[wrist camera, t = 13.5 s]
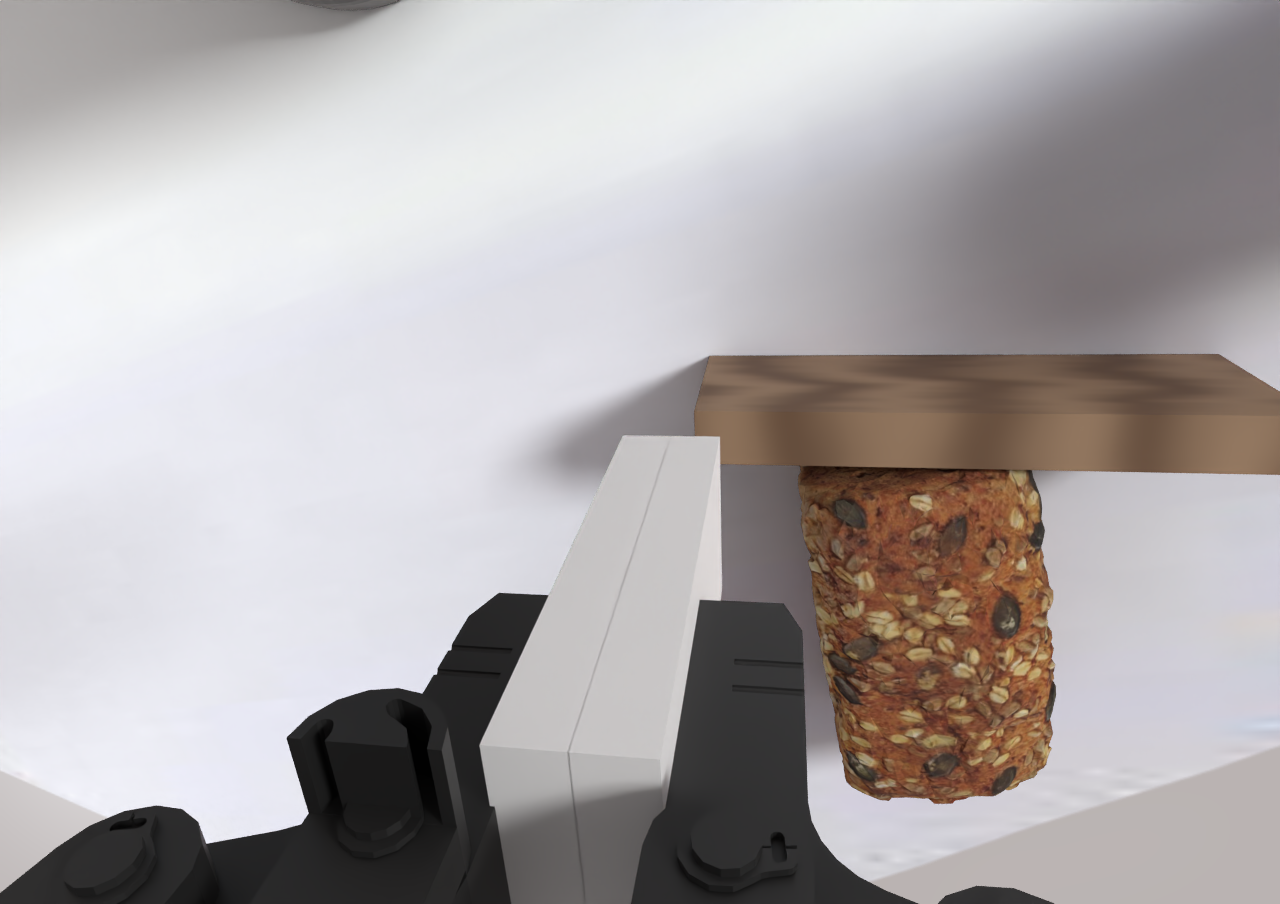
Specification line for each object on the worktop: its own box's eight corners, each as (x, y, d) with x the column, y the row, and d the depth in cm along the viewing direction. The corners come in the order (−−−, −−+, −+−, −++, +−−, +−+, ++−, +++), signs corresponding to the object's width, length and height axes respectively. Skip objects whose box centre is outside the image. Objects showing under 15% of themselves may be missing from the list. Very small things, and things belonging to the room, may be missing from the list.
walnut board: (710, 400, 43) (695, 463, 36) (709, 355, 42) (694, 411, 35) (1206, 403, 39) (1301, 475, 32) (1218, 354, 38) (1319, 416, 31)
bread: (793, 426, 43) (796, 515, 34) (1007, 398, 41) (1070, 486, 32) (834, 702, 50) (846, 837, 41) (1019, 692, 48) (1074, 832, 39)
